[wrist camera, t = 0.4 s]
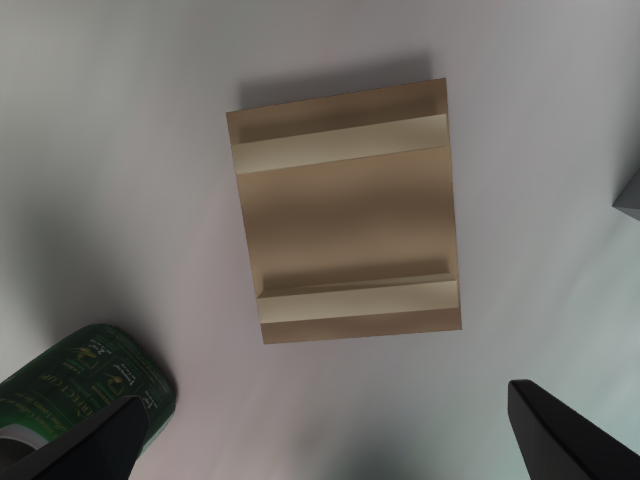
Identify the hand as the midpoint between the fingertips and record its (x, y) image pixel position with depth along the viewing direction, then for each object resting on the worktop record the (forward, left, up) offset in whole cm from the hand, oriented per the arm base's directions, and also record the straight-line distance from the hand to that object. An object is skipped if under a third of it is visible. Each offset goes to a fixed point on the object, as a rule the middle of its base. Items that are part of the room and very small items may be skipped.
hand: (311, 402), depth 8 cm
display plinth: (+3, -1, -15) cm, 15 cm away
